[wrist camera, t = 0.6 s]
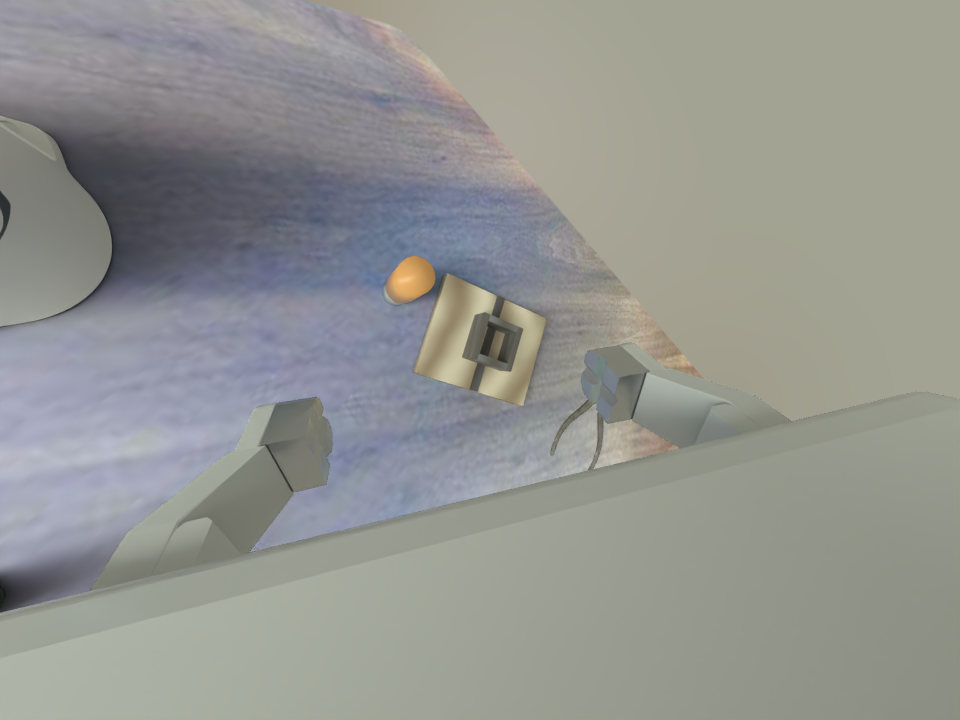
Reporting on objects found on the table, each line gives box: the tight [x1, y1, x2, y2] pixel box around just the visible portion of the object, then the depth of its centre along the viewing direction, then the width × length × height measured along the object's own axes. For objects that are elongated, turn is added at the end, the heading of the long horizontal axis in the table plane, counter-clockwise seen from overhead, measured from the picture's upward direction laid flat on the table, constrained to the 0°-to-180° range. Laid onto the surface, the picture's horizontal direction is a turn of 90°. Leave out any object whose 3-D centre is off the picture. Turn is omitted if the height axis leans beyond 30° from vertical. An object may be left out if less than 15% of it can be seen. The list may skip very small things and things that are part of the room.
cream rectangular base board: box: [413, 273, 547, 406], centre depth 44 cm, size 16×13×4 cm
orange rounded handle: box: [383, 256, 435, 305], centre depth 36 cm, size 4×4×10 cm
